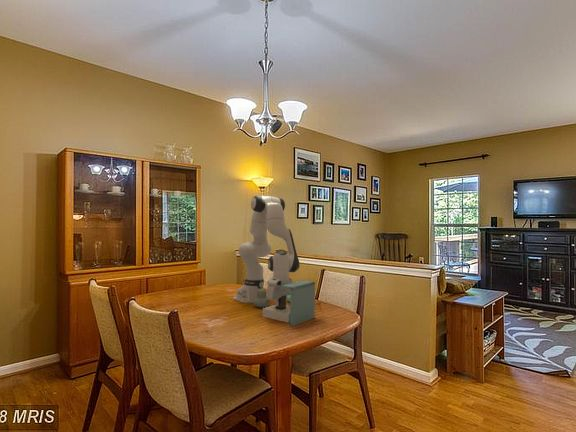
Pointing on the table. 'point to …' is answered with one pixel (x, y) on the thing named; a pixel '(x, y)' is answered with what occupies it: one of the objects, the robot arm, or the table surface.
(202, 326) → the table surface
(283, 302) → the peg
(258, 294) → the air freshener
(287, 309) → the socket block
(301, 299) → the teal stepped panel
